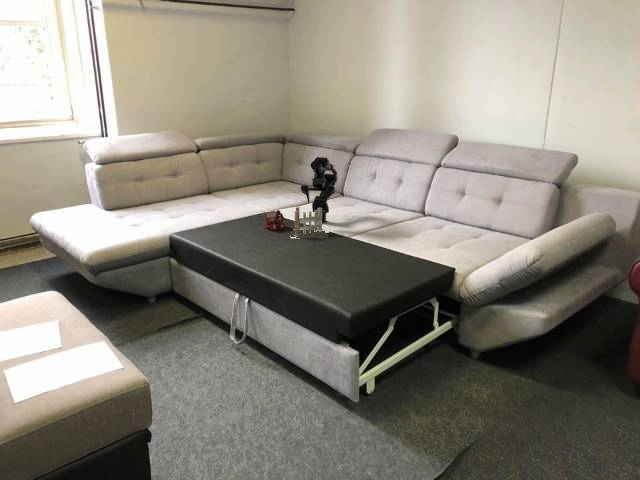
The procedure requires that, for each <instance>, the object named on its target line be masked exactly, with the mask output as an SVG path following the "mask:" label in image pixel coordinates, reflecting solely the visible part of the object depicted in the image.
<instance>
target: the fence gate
mask: <svg viewBox="0 0 640 480" xmlns="http://www.w3.org/2000/svg"><path fill="white" fill-rule="evenodd" d="M312 213H313V214H314V216H312ZM302 215H303V217H301V218H300V217H299V224H302V226H299V230H303V234H306V230H309V233H311V230H312V229H313V230H314V232H317V231H319V232H321V231H322V230H323V223H322V208H318V216H317V210H316V211H314V212H313V210H312V211H311V210H309V211H308V216H307V211H304V212H303V214H302ZM313 221H314V222H313ZM312 222H313V224H312ZM307 223H308V225H307Z"/></svg>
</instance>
